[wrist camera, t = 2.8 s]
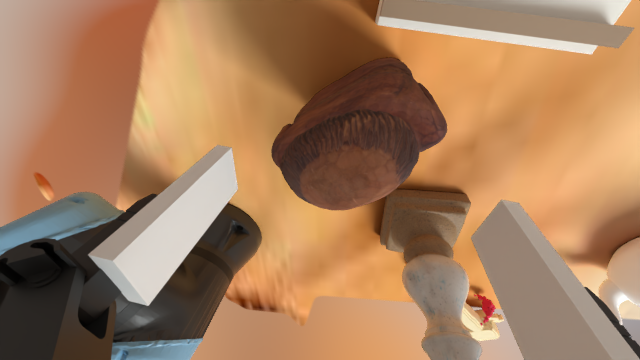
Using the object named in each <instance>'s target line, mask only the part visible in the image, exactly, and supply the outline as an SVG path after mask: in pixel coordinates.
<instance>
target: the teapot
mask: <svg viewBox="0 0 640 360" xmlns="http://www.w3.org/2000/svg"><path fill="white" fill-rule="evenodd" d="M607 276H608V279H607V280H605V281H603V283H602V284H601V285H600V287H599V297H600V299H601V300H602V301H603V302H604V303H605V304H606V305H607V306H608V308H609V309H610V310H611V311H612V313H613V314H614V315H615V316H616V318H617V319H618V320H619V321H620V322H619V324H620V325H622V318H621V315H620V312H619V305H620V303H622V302H623V301H625V300H629V301H631V302H632V303H634V304H635V305H637V306H638V307H640V237H638V238H636V239H634V240H631V241H629V242H628V243H626V244H624V245H623V246H621V247H620V248H619V249H617V251H616V252H615V253H614V254H613V256H612V258H611V260H610V262H609V264H608V266H607Z"/></svg>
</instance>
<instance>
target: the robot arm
mask: <svg viewBox="0 0 640 360" xmlns="http://www.w3.org/2000/svg"><path fill="white" fill-rule="evenodd" d="M237 190H238V186H237V180H236V173H235V166H234V160H233V153H232V148H231V147H226V146H221V145H217V146H216V147H214V148H213V149H212V150H211V151H210V152H209V153H207V154H206V155H205V156H204V157H203V158H201V159H200V160H199V161H198V162H197V163H196V164H194V165H193V166H192V167H191V168H190V169H188V170H187V171H186V172H185V173H184V174H183V175H181V176H180V177H179V178H178V179H177V180H176V181H174V182H173V183H172V184H171V185H170V186H168V187H167V188H166V189H165V190H164V191H163V192H161V193H160V194H159V195H156V194H151V195H149V196H147V197H145V198H143V199H141V200H139V201H137V202H136V203H135V204H133V205H132V206H131V207H130V208H128V209H127V210H126V212H124V211H123V210H119V209H117V208H116V207H115V206H113V205H112V204H110V203H109V202H108V201H106V200H105V199H103V198H102V197H101V196H99V195H97V194H95V193H90V192H78V193H74V194H72V195H69V196H67V197H65V198H63V199H61V200H58V201H56V202H54V203H52V204H50V205H48V206H46V207H43V208H41V209H39V210H37V211H35V212H32V213H30V214H28V215H26V216H24V217H22V218H20V219H17V220H15V221H13V222H11V223H9V224H6V225H5V226H2V227H0V360H190V358H191V357H192V355H193V353H194V352H195V350H196V349H197V347H198V345H199V344H200V343H201V342H202V340H203V336H204V334H205V332H206V330H207V328H208V326H209V324H210V322H211V320H212V318H213V316H214V314H215V312H216V310H217V308H218V306H219V304H220V302H221V300H222V299H223V297H224V295H225V293H226V291H227V289H228V287H229V285H230V283H231V281H232V279H233V277H234V275H235V274H236V273H237V272H238V271H239V270H240V269H241V268H242V267H243V266H244V265H245V264H246V263H247V262H248V261H249V260H250V259H251V258H252V257H253V256H254V255H255V253H256V252H257V250H258V248H259V246H260V244H261V240H262V236H261V232H260V229H259V228H258V226H257V224H256V223H255V222H254V221H253V220H252V219H251V218H250V217H249V216H248V215H247V214H246V213H244V212H243V211H241V210H239V209H238V208H236V207H234V206H232V205H229V204H227V203H228V201H229V200H230V199H231V197H232V196H233V195H234V194H235V192H236V191H237ZM471 239H472V242H473V244H474V246H475V249H476V251H477V253H478V255H479V258H480V260H481V262H482V264H483V267H484V269H485V271H486V274H487V276H488V278H489V280H490V283H491V285H492V287H493V289H494V292H495V294H496V296H497V299H498V301H499V303H500V305H501V308H502V310H503V312H504V314H505V317H506V319H507V321H508V324H509V326H510V328H511V330H512V332H513V335H514V337H515V339H516V342H517V344H518V346H519V349H520V351H521V353H522V355H523V358H524V360H640V346H639V345H638V344H637V343H636V341H634V340H632V339H631V335H630V334H629V333H628V332H627V330H626V329H625V328H624V326H623V325H620V324H619V322H620V321H619V320H618V319H617V318H616V316H615V315H614V314H613V313H612V311H611V310H610V309H609V308H608V306H607V305H606V304H605V303H604V302H603V301H602V300H601V299H599V298H598V297H597V296H596V295H595V294H594V293H593V292H592V291H590V290H589V289H588V288H587V287H583V285H582V284H581V283H580V281H579V280H578V279H577V278H576V276H575V275H574V274H573V272H572V271H571V270H570V268H569V267H568V266H567V265H566V263H565V262H564V261H563V259H562V258H561V257H560V256H559V254H558V253H557V252H556V250H555V249H554V248H553V247H552V245H551V244H550V243H549V241H548V240H547V239H546V237H545V236H544V235H543V234H542V232H541V231H540V230H539V228H538V227H537V226H536V225H535V223H534V222H533V221H532V219H531V218H530V217H529V216H528V214H527V213H526V212H525V210H524V209H523V208H522V206H521V205H520V204H519V203H516V202H511V201H506V200H501V201H500V202H499V203H498V204H497V206H496V207H495V208H494V209H493V211H492V212H491V213H490V214H489V216H488V217H487V218H486V219H485V221H484V222H483V223H482V224H481V226H480V227H479V228H478V229H477V231H476V232H475V233H474V234H473V235H472V237H471Z"/></svg>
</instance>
